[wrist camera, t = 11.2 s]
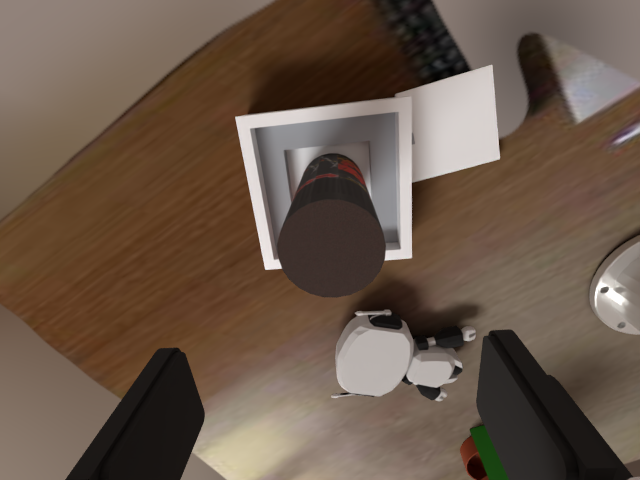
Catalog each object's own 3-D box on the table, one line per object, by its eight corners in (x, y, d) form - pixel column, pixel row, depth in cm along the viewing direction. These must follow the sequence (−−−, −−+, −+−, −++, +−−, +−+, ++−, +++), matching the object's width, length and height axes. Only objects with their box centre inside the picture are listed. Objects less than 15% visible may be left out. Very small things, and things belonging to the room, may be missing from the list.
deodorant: (291, 167, 31) (258, 222, 18) (350, 142, 30) (365, 181, 17) (315, 222, 33) (302, 309, 20) (371, 201, 32) (400, 278, 19)
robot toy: (470, 309, 39) (346, 291, 37) (489, 335, 35) (351, 315, 33) (435, 385, 44) (324, 371, 42) (449, 415, 40) (326, 402, 38)
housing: (401, 96, 29) (411, 96, 26) (403, 241, 35) (411, 258, 31) (247, 114, 30) (235, 116, 27) (272, 252, 36) (265, 269, 32)
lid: (488, 65, 28) (493, 64, 27) (496, 157, 31) (501, 159, 30) (376, 99, 30) (378, 99, 29) (394, 184, 32) (396, 187, 32)
